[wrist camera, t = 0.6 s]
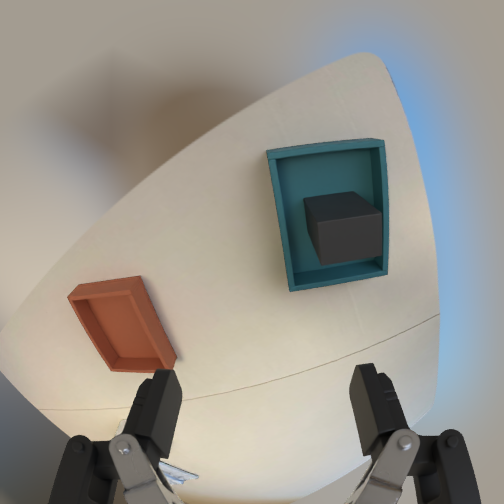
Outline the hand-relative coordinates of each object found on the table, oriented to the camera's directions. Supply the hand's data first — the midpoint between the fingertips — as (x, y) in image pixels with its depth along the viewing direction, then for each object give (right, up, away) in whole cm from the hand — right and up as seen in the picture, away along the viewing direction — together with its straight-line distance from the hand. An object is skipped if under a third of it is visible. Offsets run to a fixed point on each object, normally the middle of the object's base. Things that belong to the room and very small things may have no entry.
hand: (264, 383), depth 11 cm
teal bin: (+7, +10, +15) cm, 19 cm away
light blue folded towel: (-28, -59, +49) cm, 82 cm away
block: (+7, +9, +15) cm, 19 cm away
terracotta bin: (-17, -4, +22) cm, 28 cm away
